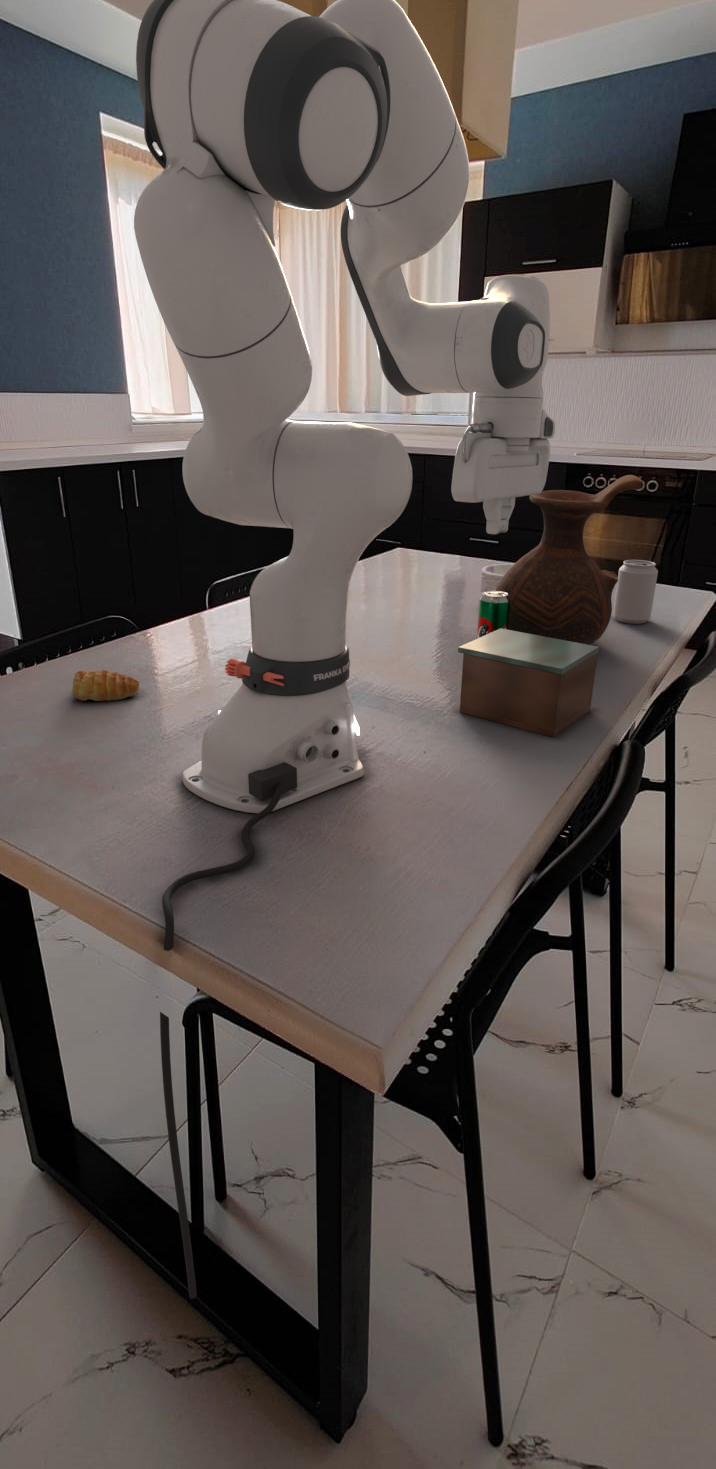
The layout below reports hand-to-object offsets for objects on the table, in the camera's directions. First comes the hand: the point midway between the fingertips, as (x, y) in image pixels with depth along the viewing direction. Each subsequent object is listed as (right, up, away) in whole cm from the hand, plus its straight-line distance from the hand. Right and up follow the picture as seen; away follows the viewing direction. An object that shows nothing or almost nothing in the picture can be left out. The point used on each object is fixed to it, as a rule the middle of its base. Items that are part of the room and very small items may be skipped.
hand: (496, 533), depth 104 cm
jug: (+17, -11, +39) cm, 44 cm away
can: (+38, -4, +55) cm, 67 cm away
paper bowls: (+16, +1, +66) cm, 68 cm away
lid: (+5, -16, +4) cm, 17 cm away
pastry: (-57, -22, +12) cm, 62 cm away
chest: (+5, -24, +7) cm, 26 cm away
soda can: (+4, -15, +28) cm, 32 cm away
